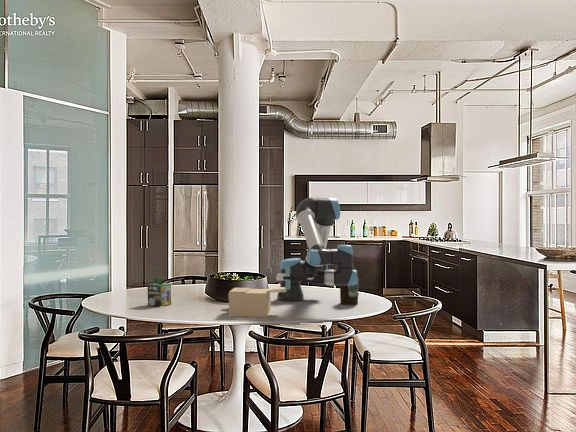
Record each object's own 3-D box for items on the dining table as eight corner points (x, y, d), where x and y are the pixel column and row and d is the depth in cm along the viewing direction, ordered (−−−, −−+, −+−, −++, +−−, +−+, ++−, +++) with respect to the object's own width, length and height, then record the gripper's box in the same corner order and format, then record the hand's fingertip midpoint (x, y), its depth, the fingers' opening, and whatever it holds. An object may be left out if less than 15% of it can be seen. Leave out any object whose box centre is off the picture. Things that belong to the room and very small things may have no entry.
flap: (270, 288, 281) (270, 266, 281) (291, 288, 280) (291, 266, 280) (266, 292, 267) (266, 269, 267) (288, 292, 266) (288, 269, 266)
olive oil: (335, 303, 308) (335, 257, 308) (350, 301, 314) (350, 256, 314) (347, 305, 299) (347, 258, 299) (362, 303, 305) (363, 257, 305)
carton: (234, 310, 283) (234, 287, 283) (270, 310, 282) (270, 287, 282) (228, 316, 267) (228, 291, 267) (266, 316, 266) (266, 292, 266)
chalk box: (171, 304, 302) (171, 277, 302) (161, 307, 294) (161, 278, 294) (157, 303, 306) (157, 276, 306) (146, 305, 298) (146, 278, 298)
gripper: (324, 287, 263) (275, 286, 264) (325, 282, 281) (278, 282, 282) (324, 271, 263) (275, 271, 264) (325, 267, 281) (278, 267, 282)
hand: (277, 276), depth 273 cm, fingers closed on flap, 5 cm apart
